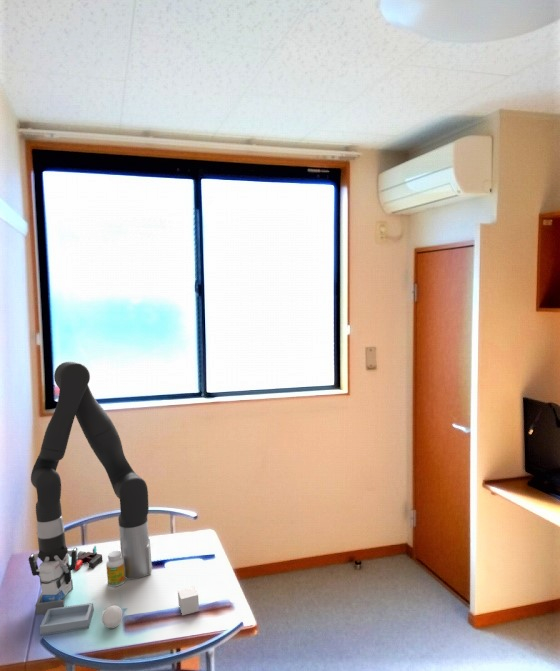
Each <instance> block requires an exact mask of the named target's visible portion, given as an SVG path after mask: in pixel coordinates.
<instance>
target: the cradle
mask: <svg viewBox="0 0 560 671" xmlns="http://www.w3.org/2000/svg"><path fill="white" fill-rule="evenodd" d="M71 585H72V589H71V590H70V591H72V590H73V589H74V585H73V579H72V578H71ZM34 606H35V615H42V614H43V615H44V614H46V612H47V610H48V609H52V608H59V607H66V606H65V599H61V600H57V601H50V602H43V598H42V592H41V593H40V595H39V596H38V598H37V601H36V602H35V605H34Z"/></svg>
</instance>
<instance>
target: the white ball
mask: <svg viewBox="0 0 560 671" xmlns="http://www.w3.org/2000/svg"><path fill="white" fill-rule="evenodd" d="M123 617H124V612H123V610H122V609H121V607H120V606H118V605H110V606H107V607H106V608H105V609H104V611H103V613H102V616H101V622H102V624H103V626H104V627H106V628H107V629H114V628H116V627H118V626H119V625H120V624H121V623H122V621H123Z"/></svg>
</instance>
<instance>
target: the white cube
mask: <svg viewBox="0 0 560 671" xmlns="http://www.w3.org/2000/svg"><path fill="white" fill-rule="evenodd" d="M177 599H178V607H179V606H180V608H179V610H180V609H181V611H180V613H182V614H181V616H185V615H188V614H193V613H197V612H199V611H200V604H199V593H198V592H197V589H196V587H195V586H190V587H187V588H183V589H179V590H177Z"/></svg>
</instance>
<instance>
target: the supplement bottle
mask: <svg viewBox="0 0 560 671" xmlns="http://www.w3.org/2000/svg"><path fill="white" fill-rule="evenodd" d="M107 558H108V560H107V561H106V563H105V564H106V565H105V566H106V576H107V577H106V578H107V579H106V580H107V585H108V586H109V587H119V586H121V585H123V584H124V583H125V582H126V578H125V572H124V560H123V558H121V550H120V551H119V550H113V551H110V552H108V554H107Z"/></svg>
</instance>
